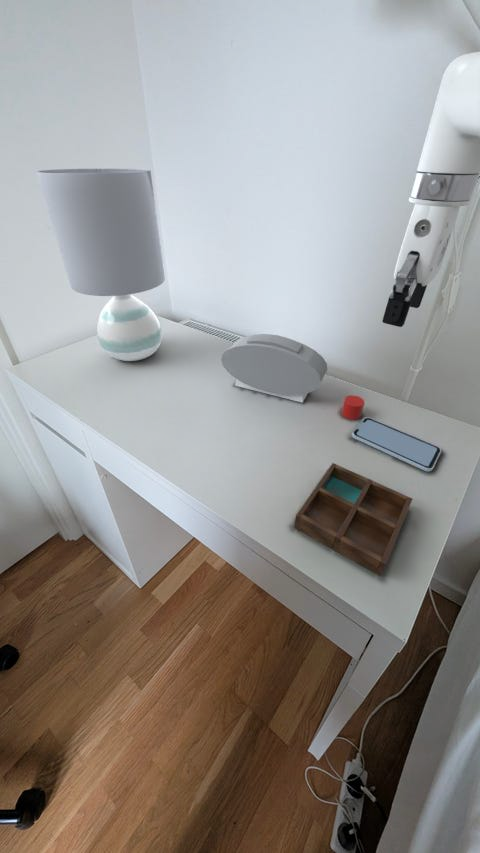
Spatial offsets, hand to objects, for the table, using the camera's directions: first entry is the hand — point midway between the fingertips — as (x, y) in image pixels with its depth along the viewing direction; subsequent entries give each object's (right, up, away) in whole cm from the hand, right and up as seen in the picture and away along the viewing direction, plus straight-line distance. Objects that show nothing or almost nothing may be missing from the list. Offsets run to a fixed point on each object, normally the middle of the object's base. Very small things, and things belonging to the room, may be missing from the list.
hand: (401, 314), depth 56 cm
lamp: (-56, +1, +37) cm, 67 cm away
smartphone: (+3, -22, +9) cm, 24 cm away
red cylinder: (-3, -16, +16) cm, 23 cm away
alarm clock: (-19, -10, +24) cm, 32 cm away
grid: (-10, -33, -5) cm, 35 cm away
